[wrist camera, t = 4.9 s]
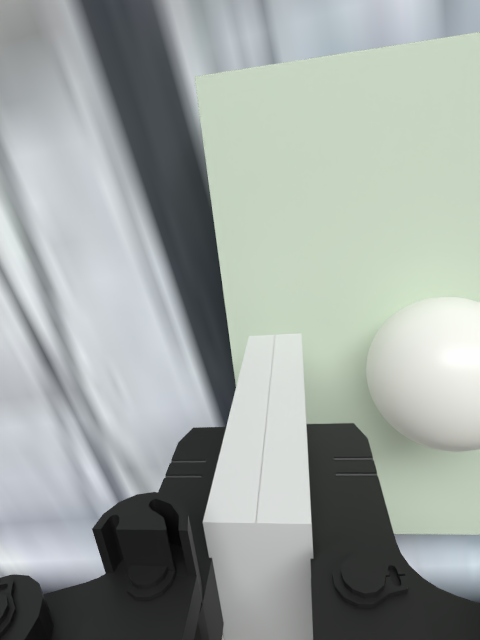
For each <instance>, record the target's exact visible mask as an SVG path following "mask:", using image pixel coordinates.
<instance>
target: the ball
mask: <svg viewBox="0 0 480 640" xmlns="http://www.w3.org/2000/svg"><path fill="white" fill-rule="evenodd" d="M366 379H367V384H368V388H369V392H370V395H371V397H372V399H373V402H374V404H375V406H376V407H377V409H378V410H379V412H380V413H381V415H382V416H383V417H384V418H385V420H386V421H387V422H388V423H389V424H390V425H391V426H392V427H393V428H394V429H396V430H397V431H398V432H399V433H401V434H402V435H404V436H405V437H406V438H408V439H410V440H412V441H414V442H416V443H418V444H420V445H423V446H426V447H429V448H433V449H437V450H442V451H450V452H462V451H471V450H477V449H480V302H477V301H474V300H470V299H465V298H459V297H435V298H429V299H424V300H420V301H418V302H415V303H412V304H410V305H408V306H406V307H404V308H402V309H401V310H399V311H398V312H396V313H395V314H393V315H392V316H391V317H390V318H389V319H388V320H387V321H386V322H385V323H384V324H383V325H382V326H381V327H380V329H379V330H378V332H377V333H376V335H375V337H374V339H373V341H372V343H371V345H370V348H369V351H368V355H367V362H366Z"/></svg>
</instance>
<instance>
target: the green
mask: <svg viewBox="0 0 480 640" xmlns="http://www.w3.org/2000/svg"><path fill="white" fill-rule="evenodd" d="M195 84H196V91H197V99H198V106H199V114H200V121H201V129H202V136H203V143H204V151H205V158H206V166H207V173H208V181H209V188H210V196H211V203H212V211H213V218H214V226H215V233H216V241H217V248H218V255H219V263H220V270H221V278H222V285H223V293H224V300H225V308H226V315H227V323H228V330H229V338H230V345H231V353H232V360H233V368H234V375H235V382H236V386H237V382H238V378H239V374H240V370H241V366H242V362H243V358H244V354H245V350H246V346H247V342H248V338H249V336H259V335H278V334H298V333H302V350H303V367H304V384H305V401H306V418H307V424H332V423H354V424H355V425H356V426H357V427H358V428H359V429H360V430H361V432H362V433H363V434H364V435H365V436H366V437H367V438H368V441H369V444H370V448H371V452H372V455H373V460H374V463H375V466H376V470H377V476H378V478H379V481H380V485H381V489H382V492H383V496H384V500H385V503H386V507H387V511H388V514H389V518H390V522H391V525H392V529H393V533H394V534H460V535H480V449H477V450H471V451H462V452H450V451H442V450H437V449H433V448H429V447H426V446H423V445H420V444H418V443H416V442H414V441H412V440H410V439H408V438H406V437H405V436H404V435H402V434H401V433H399V432H398V431H397V430H396V429H394V428H393V427H392V426H391V425H390V424H389V423H388V422H387V421H386V420H385V418H384V417H383V416H382V415H381V413H380V412H379V410H378V409H377V407H376V406H375V404H374V402H373V399H372V397H371V395H370V392H369V388H368V384H367V379H366V362H367V355H368V351H369V348H370V345H371V343H372V341H373V339H374V337H375V335H376V333H377V332H378V330H379V329H380V327H381V326H382V325H383V324H384V323H385V322H386V321H387V320H388V319H389V318H390V317H391V316H392V315H393V314H395V313H396V312H398V311H399V310H401V309H402V308H404V307H406V306H408V305H410V304H412V303H415V302H418V301H420V300H424V299H429V298H435V297H459V298H465V299H470V300H474V301H477V302H480V32H477V33H471V34H464V35H458V36H451V37H445V38H439V39H432V40H426V41H419V42H413V43H407V44H400V45H394V46H387V47H381V48H375V49H368V50H362V51H355V52H349V53H343V54H336V55H330V56H323V57H317V58H311V59H304V60H298V61H291V62H285V63H279V64H272V65H266V66H259V67H253V68H247V69H240V70H234V71H227V72H221V73H215V74H208V75H202V76H195Z"/></svg>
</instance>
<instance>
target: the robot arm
mask: <svg viewBox="0 0 480 640" xmlns="http://www.w3.org/2000/svg"><path fill="white" fill-rule="evenodd" d="M92 530H93V533H94V536H95V540H96V543H97V546H98V549H99V553H100V556H101V559H102V562H103V566H104V569H105V572H106V574H105V575H103V576H101V577H99V578H97V579H94V580H91V581H89V582H86V583H83V584H79V585H76V586H72V587H69V588H65V589H62V590H58V591H54V592H51V593H47V594H44V595H43V592H42V590H41V587H40V585H39V583H38V582H36V581H35V580H34V579H32V578H31V577H30V576H25V575H9V576H5V577H2V578H0V640H221V639H222V632H223V637H224V640H480V604H479V603H476V602H473V601H470V600H467V599H464V598H461V597H458V596H455V595H453V594H451V593H448V592H446V591H444V590H441V589H439V588H437V587H436V586H434V585H433V584H431V583H430V582H428V581H426V580H425V579H423V578H422V577H421V576H420V575H419V574H418V573H417V572H416V571H415V570H414V569H412V568H411V567H410V566H409V564H408V563H407V561H406V560H405V559H404V557H403V556H402V554H401V552H400V550H399V548H398V545H397V543H396V540H395V536H394V533H393V529H392V525H391V522H390V518H389V514H388V511H387V507H386V503H385V500H384V496H383V492H382V489H381V485H380V481H379V478H378V476H377V470H376V466H375V463H374V460H373V455H372V452H371V448H370V444H369V441H368V438H367V437H366V436H365V435H364V434H363V433H362V432H361V430H360V429H359V428H358V427H357V426H356V425H355V424H354V423H332V424H307V418H306V401H305V384H304V367H303V350H302V333H298V334H278V335H259V336H249V338H248V342H247V346H246V350H245V354H244V358H243V362H242V366H241V370H240V374H239V378H238V382H237V386H236V390H235V394H234V398H233V402H232V406H231V410H230V414H229V418H228V422H227V426H226V427H207V428H193V429H192V430H191V431H190V432H189V433H188V434H187V435H186V436H185V437H184V438H183V439H182V440H181V441H180V442H179V443H178V445H177V447H176V450H175V452H174V455H173V457H172V463H170V465H169V467H168V470H167V472H166V478H164V480H163V482H162V485H161V487H160V489H159V492H158V493H156V492H153V493H146V494H139V495H135V496H133V497H130V498H128V499H126V500H123V501H121V502H119V503H118V504H116V505H115V506H114V507H112V508H111V509H110V510H108V511H107V512H106V513H104V514H103V516H102V517H101V518H100V519H99V521H98V522H97V523H96V525H95V526H94V527H93V529H92Z"/></svg>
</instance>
